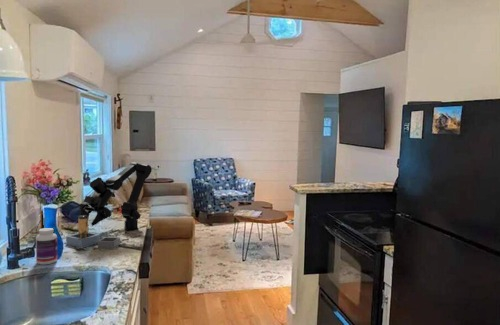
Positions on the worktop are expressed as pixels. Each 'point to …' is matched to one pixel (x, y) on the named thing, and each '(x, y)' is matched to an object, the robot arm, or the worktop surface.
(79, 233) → the jumbo cell
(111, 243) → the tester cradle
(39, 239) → the pill bottle
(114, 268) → the worktop surface
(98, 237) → the bin
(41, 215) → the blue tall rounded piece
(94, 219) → the robot arm
